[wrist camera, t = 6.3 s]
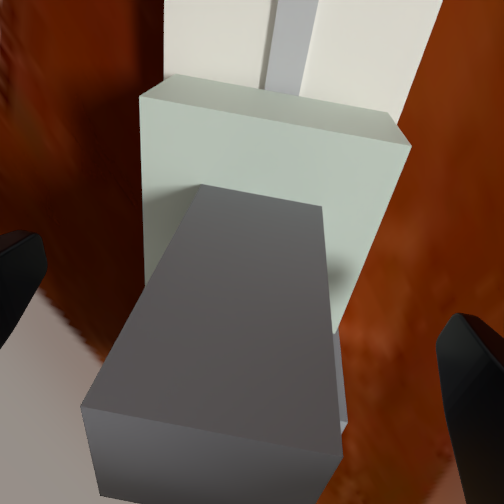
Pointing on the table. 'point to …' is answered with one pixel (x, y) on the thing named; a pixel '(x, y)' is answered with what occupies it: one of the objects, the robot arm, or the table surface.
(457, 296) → the table surface
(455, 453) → the robot arm
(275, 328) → the carriage
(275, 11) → the rail
